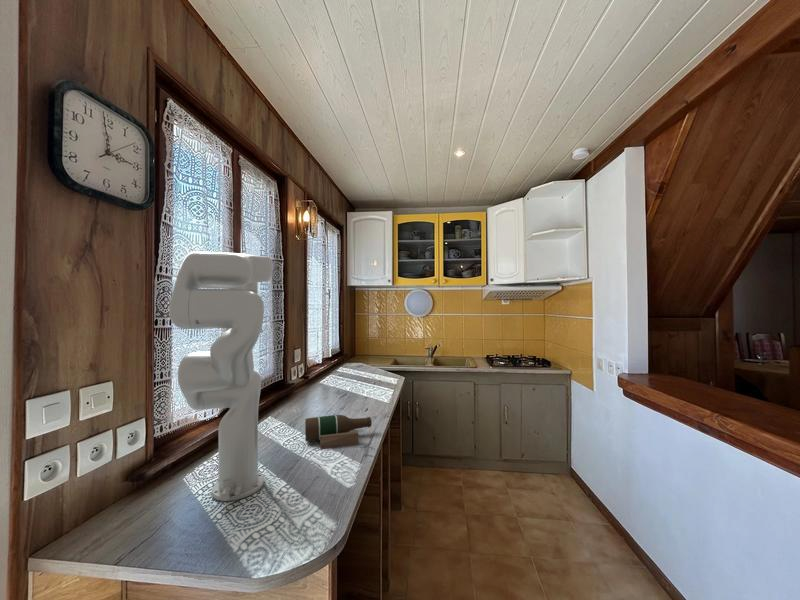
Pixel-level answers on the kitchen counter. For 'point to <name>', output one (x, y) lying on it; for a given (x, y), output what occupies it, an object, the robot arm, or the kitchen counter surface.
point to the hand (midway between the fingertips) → (245, 351)
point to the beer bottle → (332, 425)
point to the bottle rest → (339, 439)
